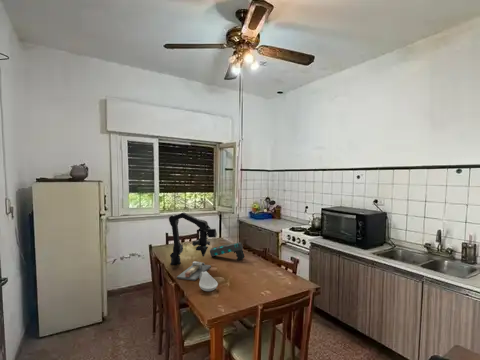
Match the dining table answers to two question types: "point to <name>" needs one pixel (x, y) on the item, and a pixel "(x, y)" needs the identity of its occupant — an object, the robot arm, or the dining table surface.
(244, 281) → the dining table surface
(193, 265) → the grey rectangular block
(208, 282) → the spoon rest
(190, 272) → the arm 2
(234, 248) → the gun
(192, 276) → the board
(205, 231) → the robot arm
